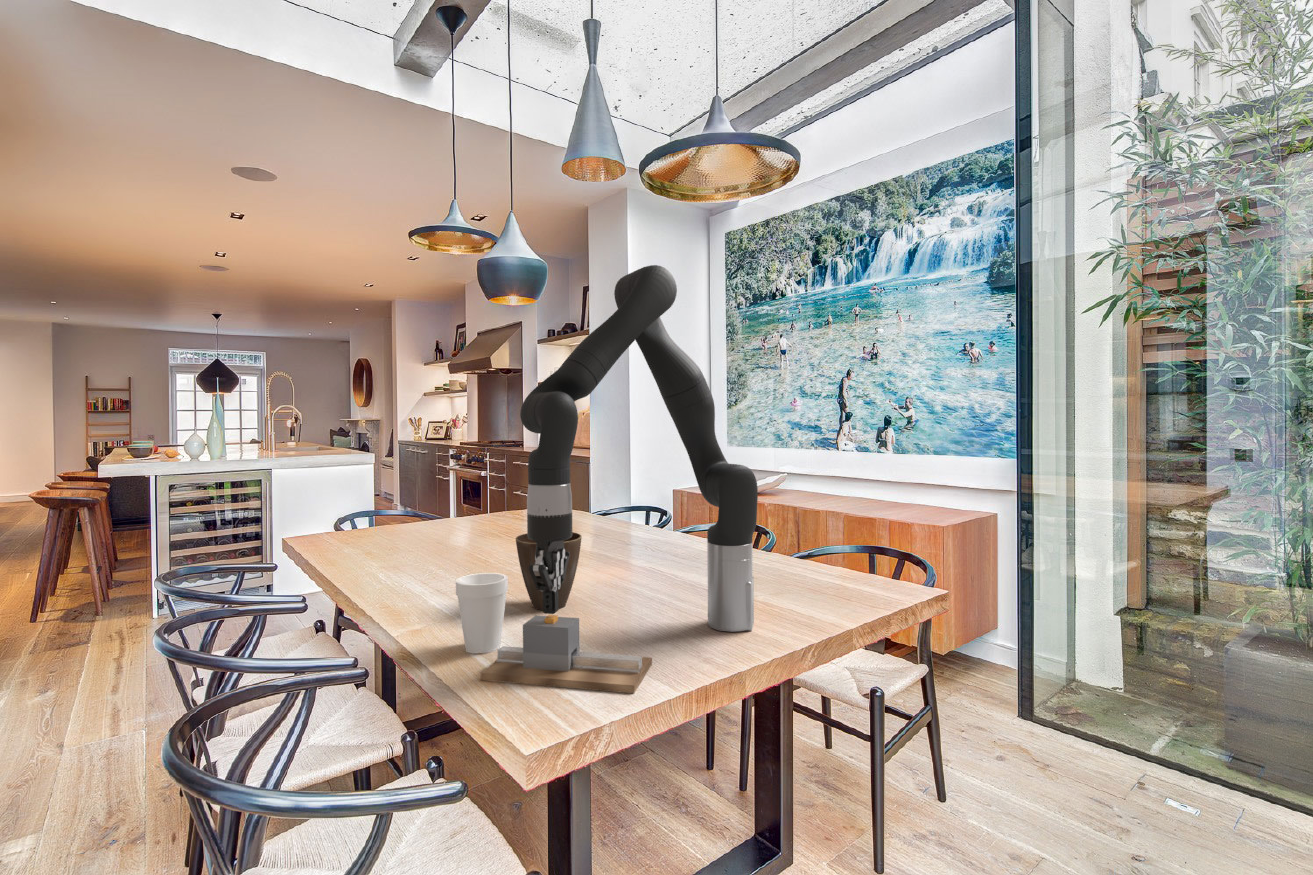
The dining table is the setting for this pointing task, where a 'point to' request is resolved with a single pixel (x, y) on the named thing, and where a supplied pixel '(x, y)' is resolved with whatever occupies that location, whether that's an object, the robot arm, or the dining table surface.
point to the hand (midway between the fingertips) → (550, 612)
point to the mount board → (567, 677)
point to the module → (550, 642)
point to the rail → (582, 660)
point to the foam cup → (482, 610)
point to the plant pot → (527, 557)
